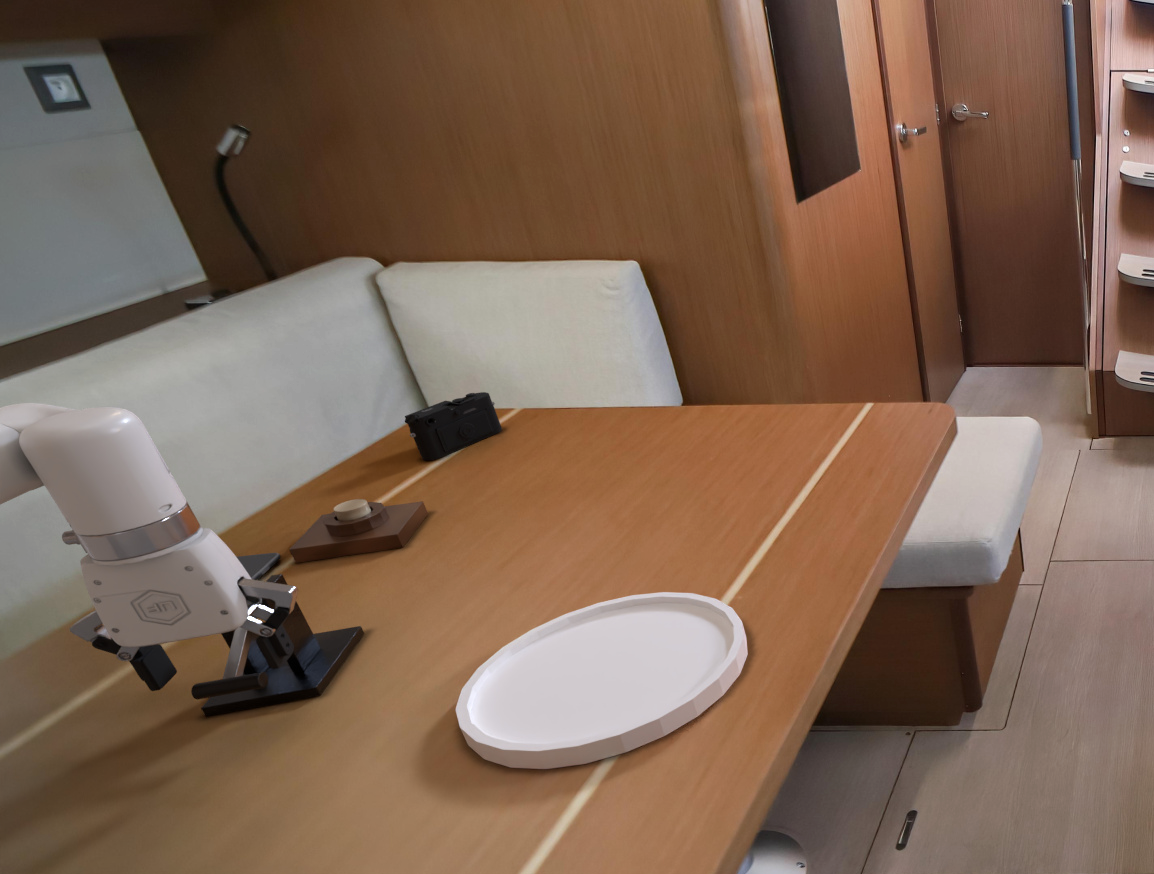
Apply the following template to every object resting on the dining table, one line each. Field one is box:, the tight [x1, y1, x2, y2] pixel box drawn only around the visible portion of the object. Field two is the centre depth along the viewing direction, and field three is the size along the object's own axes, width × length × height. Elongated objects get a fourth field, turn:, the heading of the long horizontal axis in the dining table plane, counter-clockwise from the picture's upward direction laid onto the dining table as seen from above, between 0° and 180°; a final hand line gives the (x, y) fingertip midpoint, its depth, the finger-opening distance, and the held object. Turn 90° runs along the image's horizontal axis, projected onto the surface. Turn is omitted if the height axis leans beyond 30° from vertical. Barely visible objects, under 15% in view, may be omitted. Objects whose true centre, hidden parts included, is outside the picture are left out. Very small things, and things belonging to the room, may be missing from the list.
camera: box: [404, 391, 503, 461], centre depth 162 cm, size 14×7×8 cm, turn 165°
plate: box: [454, 591, 749, 770], centre depth 110 cm, size 28×28×2 cm
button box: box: [288, 500, 429, 564], centre depth 135 cm, size 12×10×4 cm
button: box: [332, 498, 371, 521], centre depth 134 cm, size 4×4×2 cm
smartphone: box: [236, 552, 282, 580], centre depth 124 cm, size 7×1×15 cm
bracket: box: [200, 573, 365, 717], centre depth 108 cm, size 12×10×12 cm
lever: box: [191, 615, 268, 701], centre depth 103 cm, size 12×6×2 cm, turn 21°
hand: (225, 671), depth 100 cm, fingers open, 9 cm apart
